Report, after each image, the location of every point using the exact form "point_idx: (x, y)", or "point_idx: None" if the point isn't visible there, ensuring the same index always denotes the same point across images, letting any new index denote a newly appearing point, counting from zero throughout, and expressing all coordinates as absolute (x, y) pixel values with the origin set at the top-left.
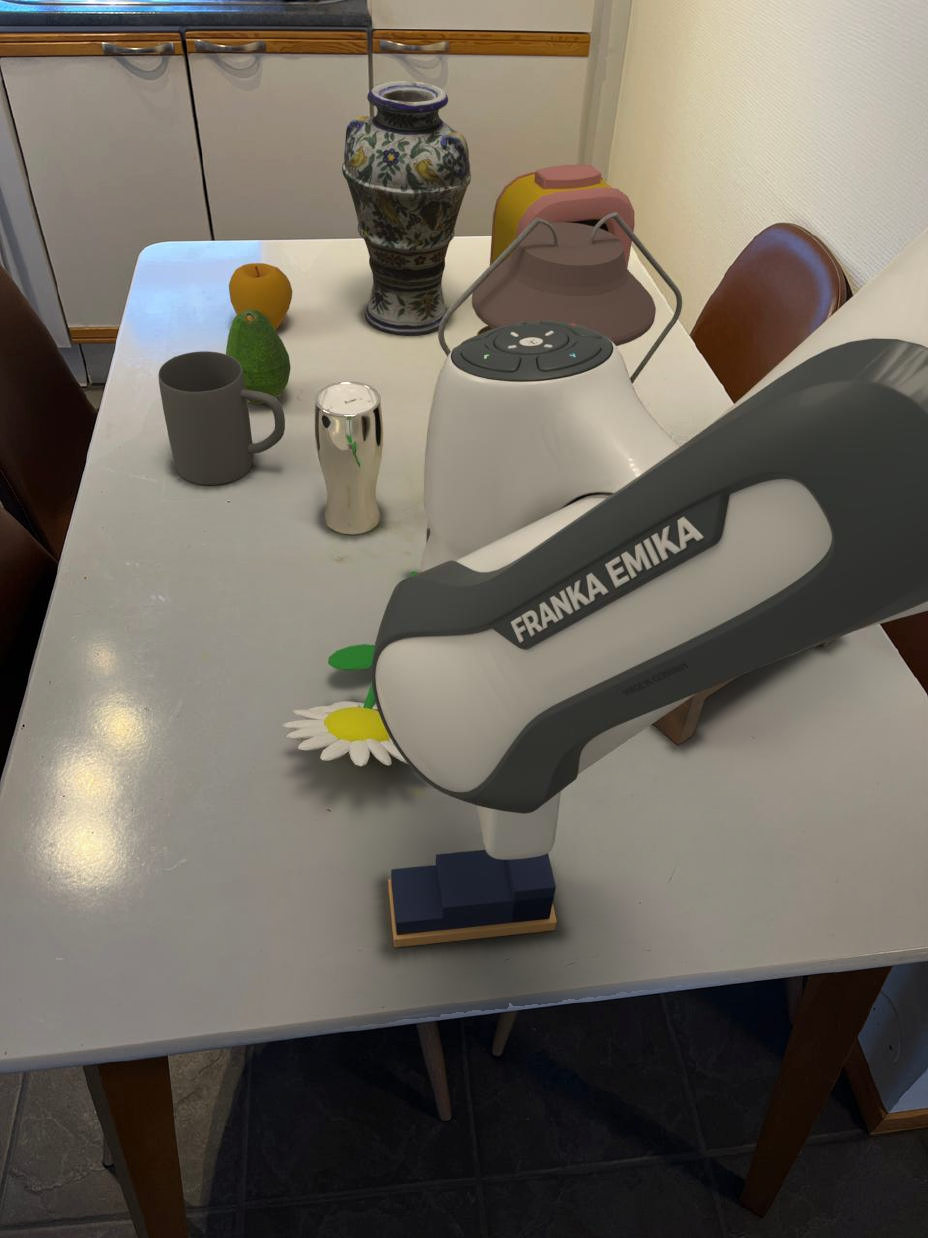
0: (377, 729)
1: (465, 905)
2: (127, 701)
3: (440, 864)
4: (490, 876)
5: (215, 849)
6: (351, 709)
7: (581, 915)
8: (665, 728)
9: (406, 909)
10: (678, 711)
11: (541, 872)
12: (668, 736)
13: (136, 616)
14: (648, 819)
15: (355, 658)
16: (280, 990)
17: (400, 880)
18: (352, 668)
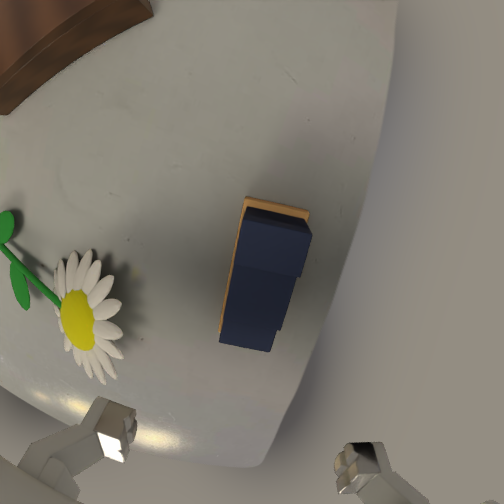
0: (83, 320)
1: (285, 313)
2: (64, 399)
3: (235, 319)
4: (263, 281)
5: (164, 400)
6: (64, 325)
7: (302, 179)
8: (133, 21)
9: (260, 343)
10: (126, 4)
11: (289, 242)
12: (141, 21)
13: (14, 373)
14: (222, 69)
15: (20, 290)
16: (273, 396)
17: (231, 339)
18: (28, 296)
